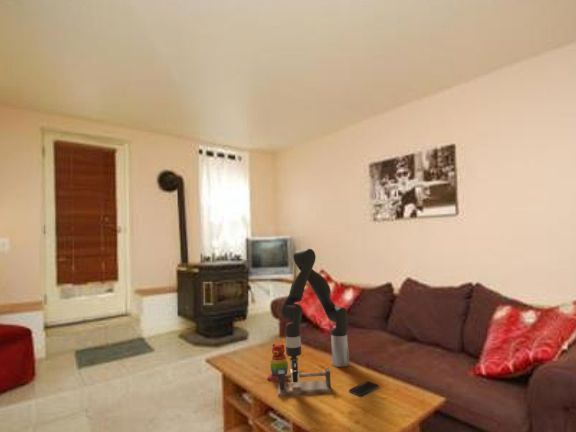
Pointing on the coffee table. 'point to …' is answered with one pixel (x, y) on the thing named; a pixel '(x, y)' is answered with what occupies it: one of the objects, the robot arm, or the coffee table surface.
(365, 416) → the coffee table surface
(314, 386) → the grey slider rail toy
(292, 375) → the sleeve
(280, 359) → the stacking bear
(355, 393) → the phone
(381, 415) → the coffee table surface
